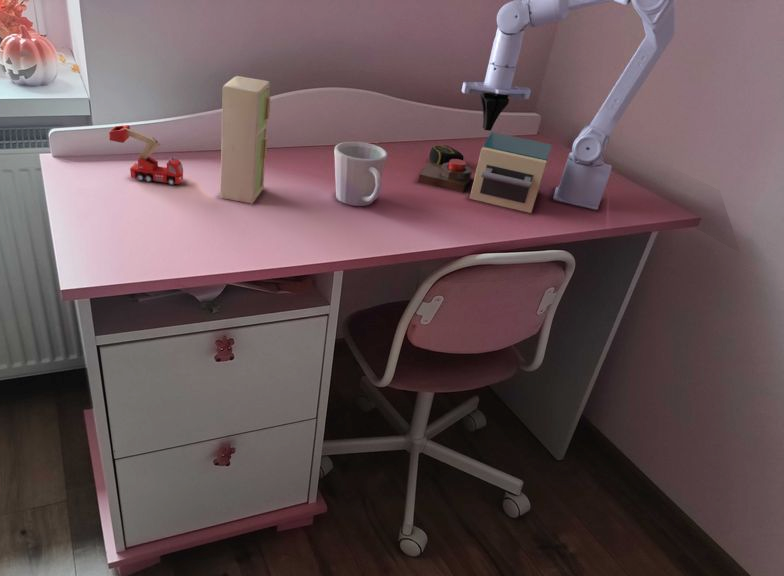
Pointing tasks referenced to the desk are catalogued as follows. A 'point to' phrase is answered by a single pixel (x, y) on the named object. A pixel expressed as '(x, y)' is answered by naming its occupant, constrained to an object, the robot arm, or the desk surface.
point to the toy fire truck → (148, 159)
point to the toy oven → (518, 146)
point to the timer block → (445, 177)
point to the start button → (457, 165)
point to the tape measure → (444, 154)
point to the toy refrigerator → (244, 138)
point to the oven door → (507, 179)
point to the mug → (358, 172)
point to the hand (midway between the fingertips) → (486, 129)
